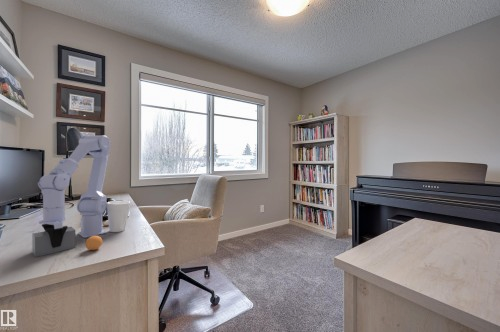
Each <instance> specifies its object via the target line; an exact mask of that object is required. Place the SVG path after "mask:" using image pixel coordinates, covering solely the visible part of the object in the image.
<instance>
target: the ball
mask: <svg viewBox="0 0 500 332" xmlns="http://www.w3.org/2000/svg"><path fill="white" fill-rule="evenodd" d="M102 244H103V239H102V237H101V236H99V235H95V236H90V237H87V239H86V241H85V244H84V246H85V248H86V249H88V250H89V251H96V250H97V249H100V248H101V246H102Z"/></svg>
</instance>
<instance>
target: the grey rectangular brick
mask: <svg viewBox="0 0 500 332" xmlns="http://www.w3.org/2000/svg"><path fill="white" fill-rule="evenodd" d="M31 236H32V239H31V242H32V244H31V245H32V247H31V248H32V254H33V255H34V257H35V258H38V257H42V256H45V255H50V254H55V253H59V252H63V251H66V250H70V249H74V248H76V229H75V228H74V227H72V226H68V228H67V230H66V231H65V233H64V236H63V239H62V243H61V246H60V247H55V248H53V247H52V245H51V240H50V237H49V234H48V233H47V231H45V230H44V231H39V232H34V233H32V235H31Z"/></svg>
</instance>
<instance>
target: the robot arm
mask: <svg viewBox="0 0 500 332" xmlns="http://www.w3.org/2000/svg"><path fill="white" fill-rule="evenodd" d="M111 144H112V142H111V140H110V138H109V137H108V136H107V135H104V134H103V135H88V134H84V135H82V136H81V137H80V139H78V145H77V146H76V147H75V149H74V150H73V151H72V153H71V154H70V155H69V156H68V158H62V159H60V160H59V161H58V163H57V165H55V167H53V168H52V169H51V170H50V172H49V173H48V174H43V176H41V177H40V178H39V181H38V182H37V186H38V187H39V189H40V190H41V194H42V206H43V207H42V209H43V211H42V212H43V215H42V217H43V220H38V224H39V225H41V227H42V228H43V230H44V231H47V233H48V234H49V237H50V240H51V245H52V247H53V248H55V247H60V246H61V243H62V239H63V236H64V233H65V231H66V230H67V228H68V227H69V226H67V225H63V223H64V222H65V221H66V209H65V208H66V206H65V205H66V199H65V193H66V192H65V191H66V188H68V187H69V186H70V180H71V177H72V176H73V175H74V173H76V171H77V169H78V168H79V162H80V161H81V160H82V159H83V158H85V157H86V156H87V155H88V154H89V155H90V156H92V157H93V160H92V167H91V171H90V174H89V175H90V176H89V180H88V183H87V190H86V192H85V193H83V194H81V195H80V199H79V200H78V202H77V204H76V209H77V210H76V211H78V213H80V214H79V215H81V218H80V231H78V232H77V234H78V235H79V236H81V237H82V238H90V237H91V236H99V235H103V234H106V231H105V230H103V214H105V211H106V210H107V200H108V197H107V195H106V194H104V193H103V187H104V182H105V177H106V170H107V167H108V166H107V165H108V161H109V160H108V159H109V156H110V151H111V146H112V145H111Z"/></svg>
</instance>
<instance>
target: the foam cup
mask: <svg viewBox="0 0 500 332" xmlns="http://www.w3.org/2000/svg"><path fill="white" fill-rule="evenodd" d="M106 202H107V201H106ZM131 203H132V202H131V201H130V200H110V201H108V202H107V208H106V210H107V219H108V230H109V232H111V233H119V232H124V231H126V228H127V222H128V219H129V213H130V208H131Z"/></svg>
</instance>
